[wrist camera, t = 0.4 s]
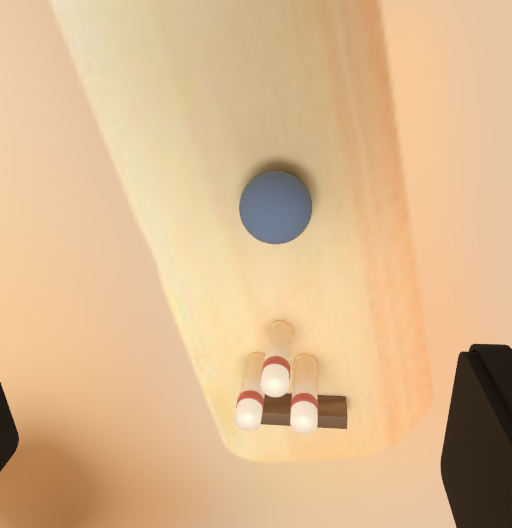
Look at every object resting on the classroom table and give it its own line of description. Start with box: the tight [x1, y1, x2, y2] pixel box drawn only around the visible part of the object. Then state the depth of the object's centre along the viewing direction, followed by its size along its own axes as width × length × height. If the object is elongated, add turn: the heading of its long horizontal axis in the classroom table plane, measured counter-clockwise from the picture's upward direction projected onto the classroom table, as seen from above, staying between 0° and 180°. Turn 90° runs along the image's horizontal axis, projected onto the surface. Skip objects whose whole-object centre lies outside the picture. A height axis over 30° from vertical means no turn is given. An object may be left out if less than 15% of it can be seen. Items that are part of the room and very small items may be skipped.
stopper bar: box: [261, 394, 347, 429], centre depth 48 cm, size 2×10×3 cm, turn 93°
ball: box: [239, 171, 312, 244], centre depth 37 cm, size 6×6×6 cm
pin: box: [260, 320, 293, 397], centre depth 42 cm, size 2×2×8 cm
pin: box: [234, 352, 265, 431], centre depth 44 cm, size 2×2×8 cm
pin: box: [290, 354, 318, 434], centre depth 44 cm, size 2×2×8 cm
